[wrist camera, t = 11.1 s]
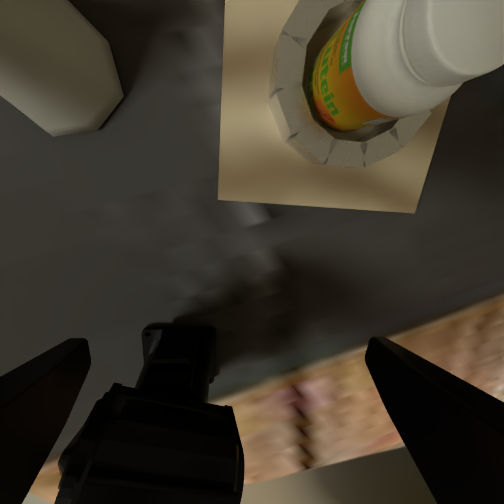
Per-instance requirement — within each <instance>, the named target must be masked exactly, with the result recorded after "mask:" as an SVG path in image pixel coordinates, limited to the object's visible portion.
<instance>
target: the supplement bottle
mask: <svg viewBox="0 0 504 504" xmlns="http://www.w3.org/2000/svg"><path fill="white" fill-rule="evenodd" d="M503 64H504V0H364V1H363V2H362V3H361V4H360V5H359V7H358V8H357V9H356V10H355V11H354V12H353V13H352V15H351V16H350V17H349V18H348V19H347V20H346V22H345V23H344V24H343V25H342V26H341V27H340V28H339V30H338V31H337V32H336V33H335V34H334V35H333V37H332V38H331V39H330V40H329V41H328V42H327V43H326V44H325V46H324V47H323V48H322V49H321V50H320V52H319V53H318V54H317V56H316V57H315V59H314V61H313V62H312V65H311V67H310V69H309V72H308V76H307V81H306V100H307V103H308V106H309V109H310V112H311V114H312V116H313V117H314V119H315V120H316V121H317V122H318V123H319V124H320V125H321V126H322V127H324V128H326V129H328V130H330V131H334V132H347V131H353V130H357V129H361V128H365V127H369V126H373V125H377V124H381V123H385V122H389V121H393V120H397V119H402V118H406V117H410V116H414V115H417V114H420V113H423V112H425V111H428V110H430V109H432V108H434V107H436V106H437V105H439V104H440V103H442V102H443V101H445V100H446V99H447V98H448V97H450V96H451V95H452V94H453V93H454V92H455V91H456V90H457V89H458V88H459V87H460V86H461V85H462V83H463V82H465V81H468V80H470V79H473V78H476V77H478V76H481V75H484V74H486V73H489V72H491V71H493V70H495V69H497V68H498V67H500V66H502V65H503Z"/></svg>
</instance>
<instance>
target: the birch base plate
mask: <svg viewBox="0 0 504 504" xmlns="http://www.w3.org/2000/svg"><path fill="white" fill-rule="evenodd" d="M298 1H299V0H225V19H224V46H223V74H222V102H221V129H220V157H219V185H218V200H229V201H244V202H258V203H273V204H288V205H302V206H317V207H331V208H346V209H360V210H375V211H389V212H404V213H415V211H416V207H417V204H418V201H419V198H420V194H421V191H422V188H423V185H424V181H425V178H426V175H427V172H428V168H429V165H430V162H431V159H432V155H433V152H434V149H435V146H436V142H437V139H438V136H439V133H440V129H441V126H442V123H443V120H444V116H445V113H446V110H447V107H448V103H449V100H450V97H451V96H450V97H448V98H447V99H446V100H445V101H443V102H442V103H440V104H439V105H437V106H436V107H434V109H430V112H431V115H430V116H429V117H428V118H427V120H426V121H425V122H424V123H423V125H422V126H421V127H420V128H419V130H418V131H417V132H416V134H415V135H414V136H413V137H412V139H411V140H410V141H409V142H408V144H407V145H406V146H405V147H404V148H400V149H401V151H399V152H397V153H394V154H392V155H390V156H388V157H386V158H384V159H382V160H380V161H378V162H376V163H374V164H372V165H370V166H368V167H362V168H345V167H334V166H323V165H313V164H314V163H309V162H308V161H307V160H305V159H304V158H303V157H302V156H301V155H299V154H298V153H297V152H296V151H294V150H293V149H292V148H291V147H289V146H288V145H287V144H286V143H284V142H285V141H286V139H287V138H288V137H286V138H284V139H282V138H281V135H280V132H279V130H278V127H277V124H276V122H275V119H274V117H273V114H272V111H271V109H270V106H269V101H270V100H271V99H269V98H268V90H269V79H270V68H271V57H272V53H273V50H274V47H275V44H276V42H277V40H278V37H279V35H280V33H281V31H282V28H283V27H284V25H285V23H286V22H287V20H288V18H289V17H290V15H291V13H292V12H293V10H294V8H295V6H296V5H297V3H298ZM345 22H346V20H345V19H339V20H337V21H335V22H333V23H332V24H330V25H328V26H326V27H324V28H322V29H320V30H318V31H316V32H315V33H314V34H313V36H312V38H311V39H310V41H309V42H308V44H307V48H306V56H305V64H304V72H303V79H302V88H303V91H304V94H305V97H306V81H307V76H308V72H309V69H310V67H311V65H312V62H313V61H314V59H315V57H316V56H317V54H318V53H319V52H320V50H321V49H322V48H323V47H324V46H325V44H326V43H327V42H328V41H329V40H330V39H331V38H332V37H333V35H334V34H335V33H336V32H337V31H338V30H339V28H340V27H341V26H342V25H343V24H344V23H345ZM311 115H312V114H311ZM312 118H313V120H314V121H315V122H316V123H318V122H317V121H316V120H315V119H314V117H313V116H312ZM318 124H319V123H318ZM319 125H320V124H319ZM320 126H321V125H320ZM374 126H375V125H373V126H369V127H365V128H361V129H357V130H353V131H347V132H334V131H330V130H328V129H326V128H324V127H322V126H321V127H322V128H323V129H324V130H326V131H327V132H328V133H329V134H330V135H331V136H332V137H333V138H335V139H337V140H346V141H355V140H357V139H359V138H361V137H363V136H365V135H367V134H369V133H370V132H371V130H372V129H373V128H374Z"/></svg>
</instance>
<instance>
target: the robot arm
mask: <svg viewBox="0 0 504 504" xmlns="http://www.w3.org/2000/svg"><path fill="white" fill-rule="evenodd" d="M146 332H149V333H150V334H148V333H146ZM209 332H212V333H211V334H210V333H209ZM142 344H143V357H144V366H143V368H142V371H141V373H140V376H139V378H138V381H137V383H136V386H135V388H131V387H126V386H122V384H119V383H114V384H113V385H112V387H111V389H110V391H109V392H106V393H105V394H104V396H103V398H102V399H100V400H97V402H96V403H95V405H94V407H93V409H92V411H91V413H90V415H89V417H88V418H87V420H86V422H85V423H84V425H83V426H82V428H81V429H80V430H79V432H78V433H77V434H76V435H75V437H74V438H73V439H72V441H71V442H70V443H69V444H68V446H67V447H66V448H65V450H64V451H63V453H62V455H61V457H60V459H59V461H58V467H59V471H60V474H61V480H60V483H59V486H58V489H59V492H58V495H57V497H56V500H55V503H54V504H240V502H241V497H242V491H243V484H244V453H243V448H242V444H241V440H240V436H239V432H238V428H237V424H236V420H235V416H234V412H233V408H232V406H227V405H225V406H219V405H214V404H209V403H208V392H209V384H211V383H213V381H214V370H215V345H216V329H215V328H214V327H146V328H144V329H143V331H142ZM365 362H366V365H367V367H368V370H369V372H370V374H371V376H372V379H373V381H374V383H375V386H376V388H377V390H378V393H379V395H380V397H381V399H382V402H383V404H384V406H385V408H386V410H387V412H388V414H389V416H390V418H391V420H392V422H393V423H394V425H395V427H396V429H397V431H398V433H399V434H400V436H401V438H402V440H403V442H404V444H405V446H406V447H407V449H408V451H409V453H410V455H411V457H412V458H413V460H414V462H415V464H416V466H417V468H418V469H419V471H420V473H421V475H422V477H423V479H424V481H425V482H426V484H427V486H428V488H429V490H430V492H431V494H432V495H433V497H434V499H435V501H436V503H437V504H504V402H502V401H500V400H498V399H497V398H495V397H493V396H491V395H489V394H487V393H486V392H484V391H482V390H480V389H478V388H477V387H475V386H473V385H471V384H469V383H467V382H466V381H464V380H462V379H460V378H458V377H456V376H455V375H453V374H451V373H449V372H447V371H445V370H444V369H442V368H440V367H438V366H436V365H435V364H433V363H431V362H429V361H427V360H425V359H424V358H422V357H420V356H418V355H416V354H414V353H413V352H411V351H409V350H407V349H405V348H403V347H402V346H400V345H398V344H396V343H394V342H392V341H391V340H389V339H387V338H385V337H372V338H371V339H370V340H369V344H368V347H367V350H366V354H365ZM90 365H91V357H90V351H89V346H88V341H87V340H86V339H85V338H70V339H68V340H66V341H64V342H62V343H61V344H59V345H57V346H55V347H53V348H52V349H50V350H48V351H46V352H44V353H42V354H41V355H39V356H37V357H35V358H33V359H32V360H30V361H28V362H26V363H24V364H23V365H21V366H19V367H17V368H15V369H14V370H12V371H10V372H8V373H6V374H4V375H3V376H1V377H0V504H22V502H23V501H24V499H25V497H26V495H27V493H28V492H29V490H30V488H31V486H32V484H33V482H34V481H35V479H36V477H37V475H38V473H39V472H40V470H41V468H42V466H43V464H44V462H45V461H46V459H47V457H48V455H49V453H50V452H51V450H52V448H53V446H54V444H55V442H56V441H57V439H58V437H59V435H60V433H61V431H62V429H63V428H64V426H65V424H66V421H67V419H68V417H69V415H70V413H71V410H72V408H73V406H74V404H75V401H76V399H77V397H78V394H79V392H80V390H81V387H82V385H83V383H84V380H85V378H86V376H87V374H88V371H89V369H90ZM209 378H210V379H209Z"/></svg>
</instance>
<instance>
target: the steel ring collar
mask: <svg viewBox="0 0 504 504" xmlns="http://www.w3.org/2000/svg"><path fill="white" fill-rule="evenodd" d="M363 1H364V0H299V1H298V3H297V5H296V6H295V8H294V10H293V12H292V13H291V15H290V17H289V18H288V20H287V22H286V23H285V25H284V27H283V28H282V31H281V33H280V35H279V37H278V40H277V42H276V44H275V47H274V50H273V53H272V57H271V68H270V79H269V90H268V98H269V99H271V100H270V101H269V106H270V109H271V111H272V114H273V117H274V119H275V122H276V124H277V127H278V130H279V132H280V135H281V138H282V139H284V138H286V137H288V138H287V139H286V141H285V142H284V143H286V144H287V145H288V146H289V147H291V148H292V149H293V150H294V151H296V152H297V153H298V154H299V155H301V156H302V157H303V158H304V159H305V160H307V161H308V162H309V163H314V164H313V165H323V166H334V167H345V168H362V167H368V166H370V165H372V164H374V163H376V162H378V161H380V160H382V159H384V158H386V157H388V156H390V155H392V154H394V153H397V152H399V151H401V149H400V148H404V147H405V146H406V145H407V144H408V142H409V141H410V140H411V139H412V137H413V136H414V135H415V134H416V132H417V131H418V130H419V128H420V127H421V126H422V125H423V123H424V122H425V121H426V120H427V118H428V117H429V116H430V115H431V112H430V110H428V111H425V112H423V113H420V114H417V115H414V116H410V117H406V118H402V119H397V120H393V121H389V122H385V123H381V124H377V125H375V126H374V128H373V129H372V130H371V132H370V133H369V134H367V135H365V136H363V137H361V138H359V139H357V140H355V141H346V140H337V139H335V138H333V137H332V136H331V135H330V134H329V133H328V132H327V131H326V130H324V129H323V128H322V127H321V126H320V125H319V124H318V123H316V122H315V121H314V120H313V118H312V115H311V112H310V109H309V106H308V103H307V100H306V97H305V94H304V91H303V88H302V79H303V72H304V64H305V56H306V48H307V44H308V42H309V41H310V39H311V38H312V36H313V34H314V33H315V32H316V31H318V30H320V29H322V28H324V27H326V26H328V25H330V24H332V23H333V22H335V21H337V20H339V19H345V20H347V19H348V18H349V17H350V16H351V15H352V13H353V12H354V11H355V10H356V9H357V8H358V7H359V5H360V4H361V3H362V2H363ZM432 109H434V108H432Z"/></svg>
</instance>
